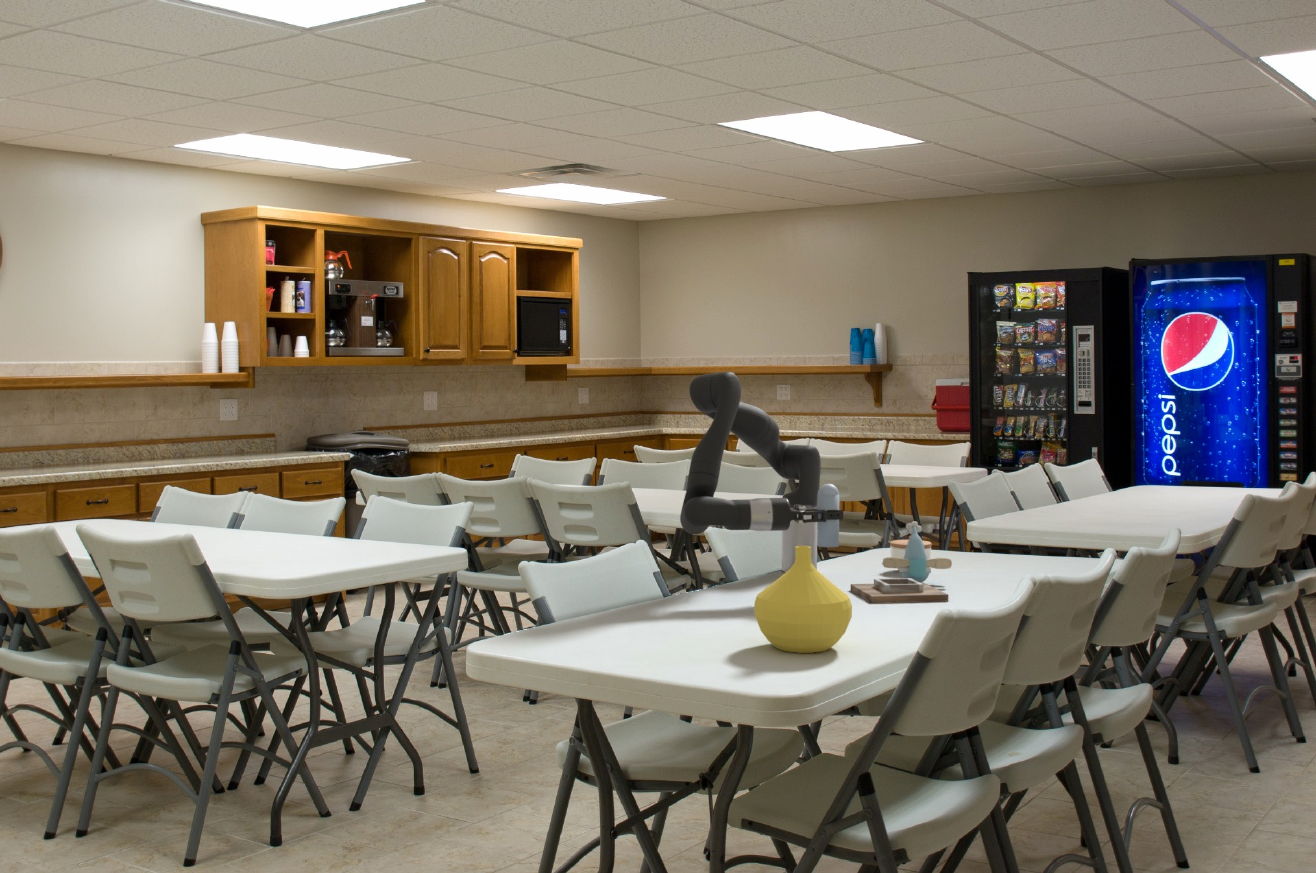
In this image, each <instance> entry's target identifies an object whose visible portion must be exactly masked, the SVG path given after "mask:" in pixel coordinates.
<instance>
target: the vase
mask: <svg viewBox="0 0 1316 873" xmlns="http://www.w3.org/2000/svg"><path fill="white" fill-rule="evenodd" d="M753 604H754V617H755V620H756V622H757V624H758V627H759V630H760V632H761V633H762V634H763V636H764V637H765V639H766V640H767V641H768V642H770V643H771V645H773V646H774V647H775V648H777V649H778V650H780V651H783V652H787V653H788V652H789V653H795V652H796V654H814V652H816V653H821V652H825V651H828V650H830V649H831V648H833V646H835V645H836V644H837V643H838V642H839V641H840V640H841V638H842V637H843V636H844V635H845V634H846V632H847V629H848V627H849V626H850V625H849V624H850V622H851V619H852V617H853V616H852V615H853V614H852V613H853V604H852V601H851V599H850V596H849V595H848V594H847V593H846V592H844V591H843V590H842V589H840V588H839V587H838V586H837V585H835V584H834V583H833V582H831V581H830V580H829V578H827V577H825V575H823V574H822V573H821V572H820V571H819V570H818V569H817V570H816V568H815V567H814V566H813V564H812V562H811V547H810V546H796V547H795V563H794V564H793V566H792V567H791V568H790V569H789V570H788V571H787V572H784V573H783V574H782V575H781V576H780V577H778V578H777V579H776V580H775V581H773V582H772V583H771V584H769V585H768V586H766V587H765V588H764V589H763V590H762V591H760V592H759V593H758V594H757V595H756V598H755V600H754V603H753Z"/></svg>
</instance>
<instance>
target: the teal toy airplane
mask: <svg viewBox="0 0 1316 873" xmlns="http://www.w3.org/2000/svg"><path fill="white" fill-rule="evenodd" d="M905 528H906V530H907V531H908V532H909V534H910V536H911V537H910V539H909V538H908V540H909V541H908V544H907V548H906V549H905V556H904V558H898V557H891V556H890V557H889V556H888V557H884V558H883V559H882V562H881V565H882V566H883V567H884V568H887V569H897V568H900V572H899V573H900V574H901V576H902V578H911V579H913V580H916V581H918V582H920V583H924V582H925V581H926V580H927V579H928V578H929V575H930V574H931V573H932V569H936V570H946V569H948V570H949V569H951V568H952V565H953V563H952V559H951V558H948V557H947V558H946V557H936V558H935V557H934V558H930V559H928V558H927V556H926V553H925V548H924V544H923V541H924V540H922V537H921V536H919V534H918V533H921V532H922V531H923V528H922V526H921V525H919V523H918V521H911V522H909V523H908V522H907V524H906V525H905Z"/></svg>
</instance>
